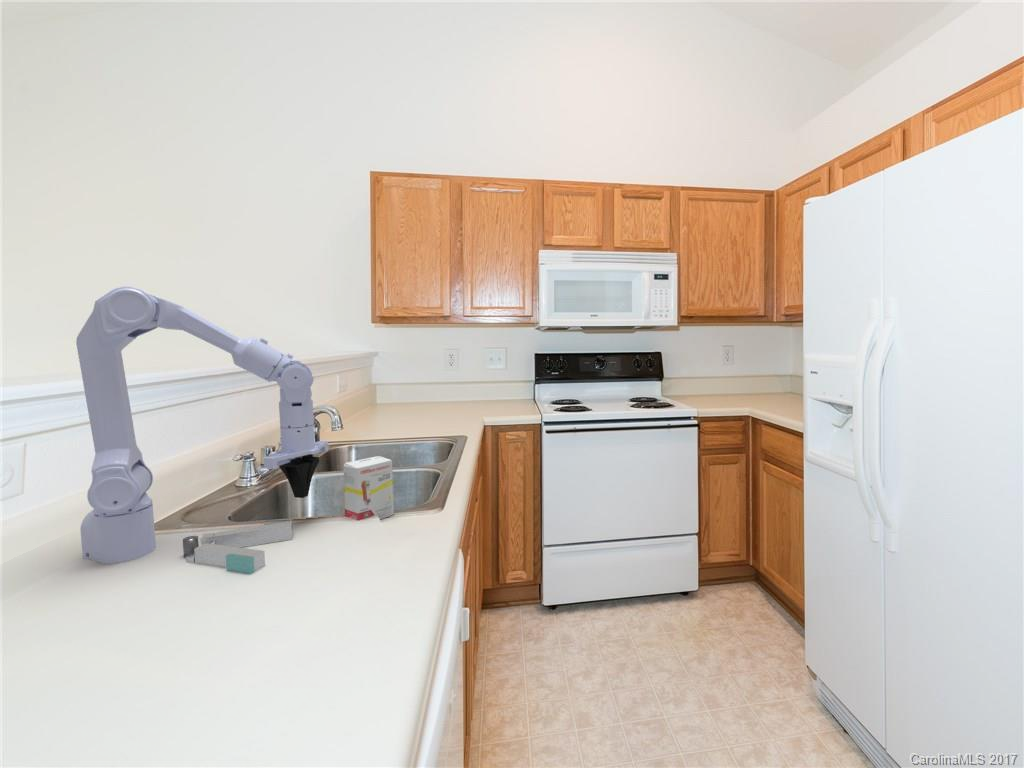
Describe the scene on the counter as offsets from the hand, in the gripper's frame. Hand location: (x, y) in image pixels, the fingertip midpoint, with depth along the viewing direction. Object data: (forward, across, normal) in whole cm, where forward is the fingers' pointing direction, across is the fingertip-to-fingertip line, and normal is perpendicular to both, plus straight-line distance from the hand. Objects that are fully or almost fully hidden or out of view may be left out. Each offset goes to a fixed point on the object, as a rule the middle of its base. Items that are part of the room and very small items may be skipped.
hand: (301, 496), depth 85 cm
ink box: (+7, +8, -9) cm, 14 cm away
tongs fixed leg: (+5, -17, +1) cm, 18 cm away
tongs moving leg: (+5, -10, +2) cm, 12 cm away
